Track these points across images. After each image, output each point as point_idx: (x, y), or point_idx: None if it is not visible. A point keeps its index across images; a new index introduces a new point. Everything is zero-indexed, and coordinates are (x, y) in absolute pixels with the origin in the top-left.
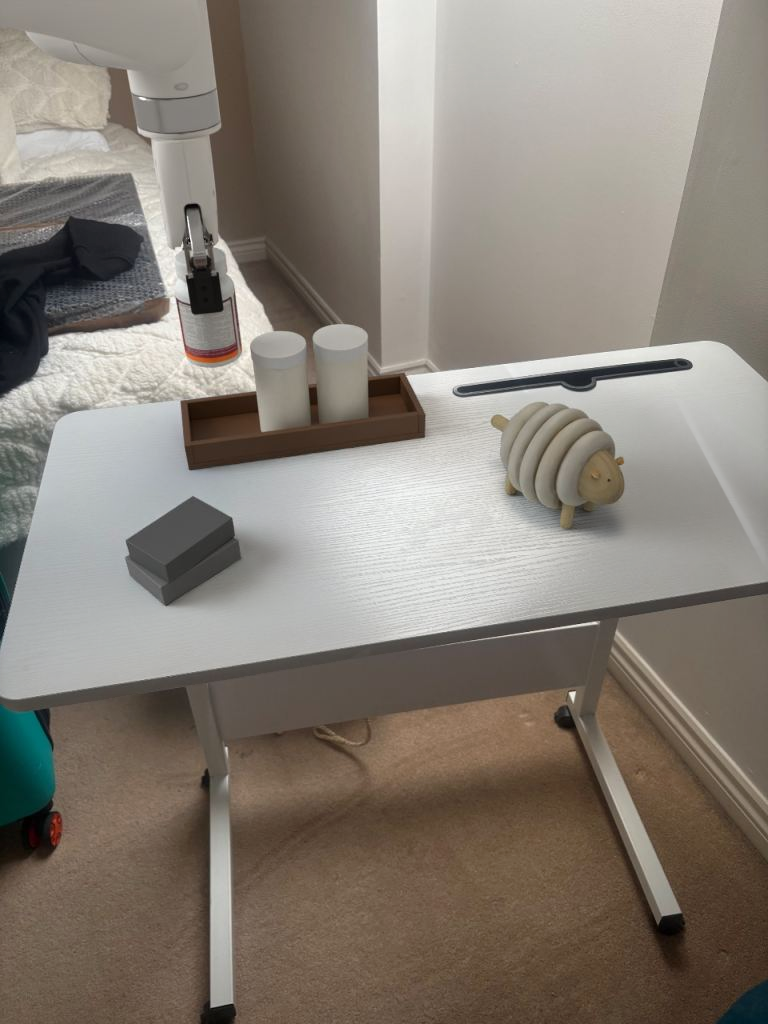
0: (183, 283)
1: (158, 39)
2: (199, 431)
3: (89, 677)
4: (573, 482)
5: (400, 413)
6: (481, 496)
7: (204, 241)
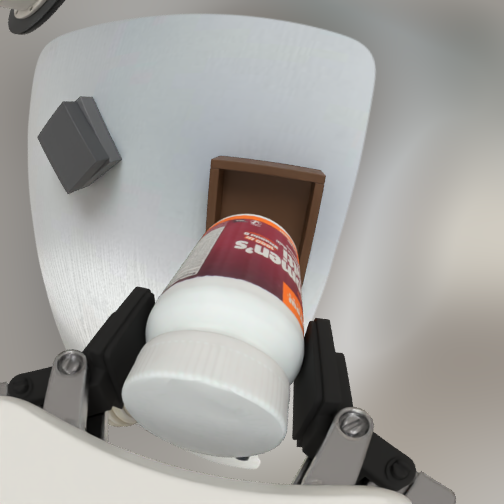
0: (189, 325)
1: None
2: (282, 182)
3: (35, 87)
4: None
5: None
6: None
7: (305, 453)
